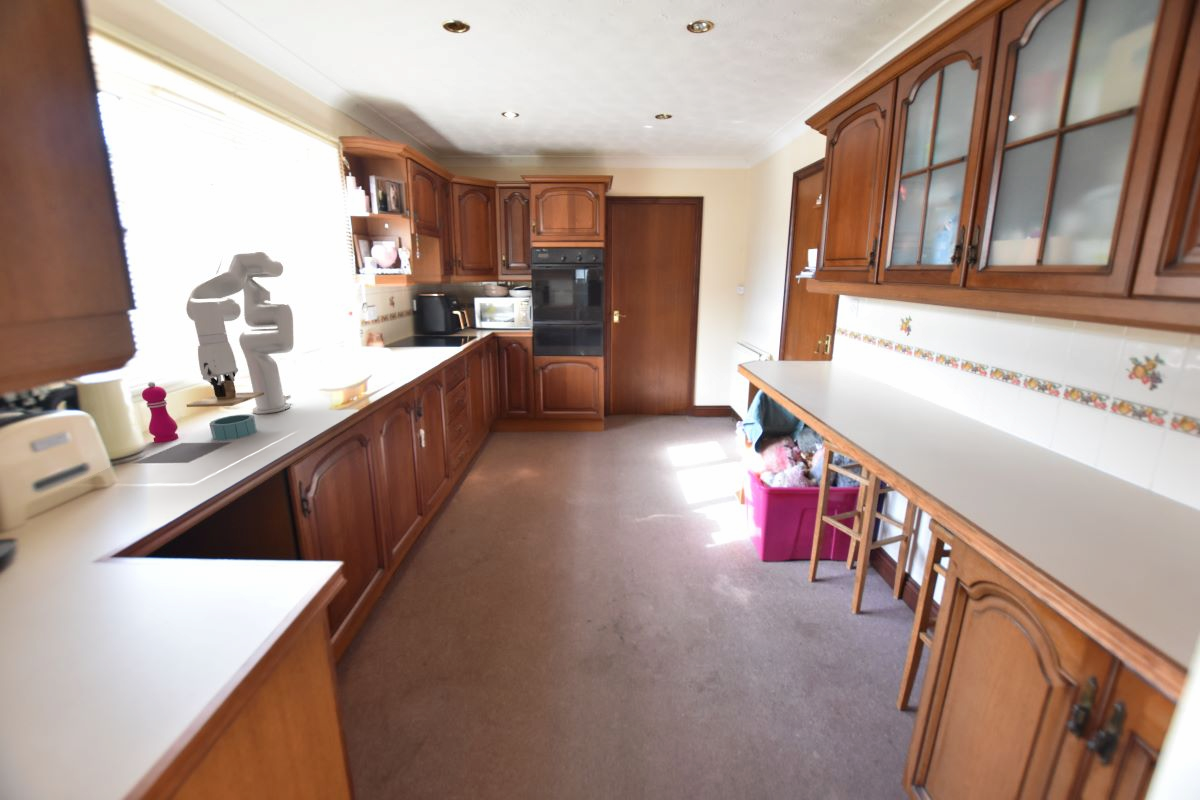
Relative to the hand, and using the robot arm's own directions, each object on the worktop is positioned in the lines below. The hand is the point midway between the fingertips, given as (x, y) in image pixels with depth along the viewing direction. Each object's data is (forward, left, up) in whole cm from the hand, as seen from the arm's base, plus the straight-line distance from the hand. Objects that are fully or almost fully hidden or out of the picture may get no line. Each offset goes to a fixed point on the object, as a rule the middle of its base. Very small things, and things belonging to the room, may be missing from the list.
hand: (225, 394), depth 170 cm
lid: (0, 0, -2) cm, 2 cm away
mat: (+17, -3, -14) cm, 22 cm away
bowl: (0, 0, -14) cm, 14 cm away
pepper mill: (+5, -20, -14) cm, 25 cm away
